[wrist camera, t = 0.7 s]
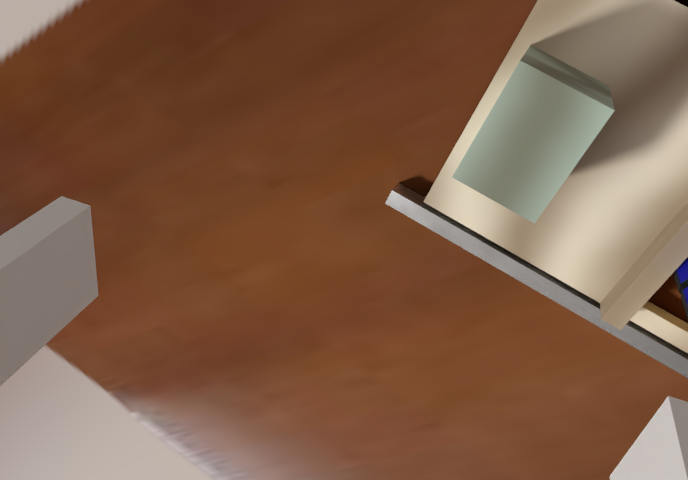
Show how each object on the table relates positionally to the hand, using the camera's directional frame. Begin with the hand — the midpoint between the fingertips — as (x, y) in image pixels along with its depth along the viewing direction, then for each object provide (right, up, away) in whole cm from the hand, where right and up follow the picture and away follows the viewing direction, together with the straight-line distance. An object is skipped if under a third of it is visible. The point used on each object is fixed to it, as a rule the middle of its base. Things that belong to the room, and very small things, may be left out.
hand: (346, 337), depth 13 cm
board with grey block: (+19, +4, +18) cm, 26 cm away
